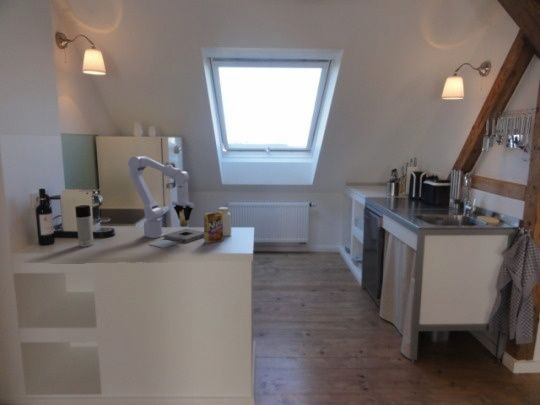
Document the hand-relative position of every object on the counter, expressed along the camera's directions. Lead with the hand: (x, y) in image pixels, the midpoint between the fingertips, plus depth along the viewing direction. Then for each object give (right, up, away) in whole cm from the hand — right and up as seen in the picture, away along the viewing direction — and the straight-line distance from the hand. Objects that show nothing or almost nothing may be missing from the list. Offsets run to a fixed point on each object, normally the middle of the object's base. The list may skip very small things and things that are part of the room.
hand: (183, 219), depth 201 cm
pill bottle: (+20, -9, +7) cm, 23 cm away
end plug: (0, -3, +1) cm, 3 cm away
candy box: (+17, -11, -6) cm, 21 cm away
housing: (+1, -10, +2) cm, 10 cm away
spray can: (-46, -13, -11) cm, 49 cm away
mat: (-8, -12, -10) cm, 17 cm away
